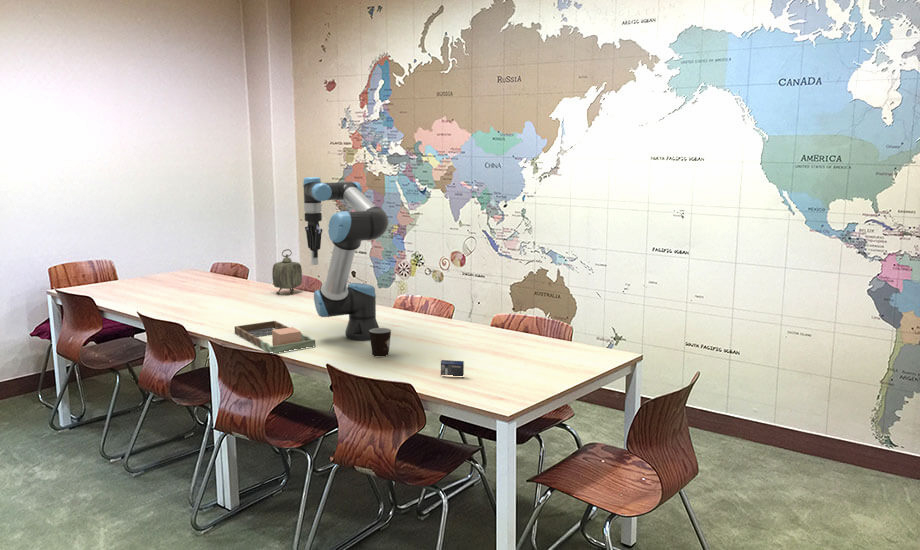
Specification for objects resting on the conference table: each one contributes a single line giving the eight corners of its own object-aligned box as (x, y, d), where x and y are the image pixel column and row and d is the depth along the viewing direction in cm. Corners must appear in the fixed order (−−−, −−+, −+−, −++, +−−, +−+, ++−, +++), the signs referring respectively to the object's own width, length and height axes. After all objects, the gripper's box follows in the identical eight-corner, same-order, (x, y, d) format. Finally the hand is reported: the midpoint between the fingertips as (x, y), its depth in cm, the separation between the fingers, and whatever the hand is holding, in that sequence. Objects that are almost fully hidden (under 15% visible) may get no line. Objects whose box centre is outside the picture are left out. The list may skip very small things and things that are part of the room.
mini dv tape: (440, 377, 278) (440, 361, 277) (441, 375, 279) (441, 360, 278) (463, 378, 276) (463, 362, 275) (463, 377, 278) (463, 361, 277)
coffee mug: (382, 350, 312) (381, 326, 310) (395, 354, 306) (395, 330, 304) (359, 356, 304) (358, 331, 302) (372, 360, 298) (372, 335, 296)
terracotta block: (301, 347, 316) (300, 331, 315) (280, 351, 311) (279, 334, 310) (293, 343, 324) (292, 327, 322) (272, 346, 319) (272, 330, 317)
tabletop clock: (293, 290, 434) (291, 247, 430) (304, 292, 429) (302, 248, 425) (273, 294, 423) (271, 250, 418) (284, 296, 417) (282, 251, 413)
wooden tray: (315, 346, 317) (315, 339, 317) (272, 354, 306) (271, 347, 306) (275, 327, 351) (275, 320, 350) (234, 333, 339) (234, 326, 339)
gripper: (327, 212, 336) (328, 265, 341) (314, 210, 347) (315, 262, 351) (311, 213, 332) (313, 267, 336) (298, 211, 342) (300, 263, 346)
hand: (314, 264), depth 343 cm, fingers closed
